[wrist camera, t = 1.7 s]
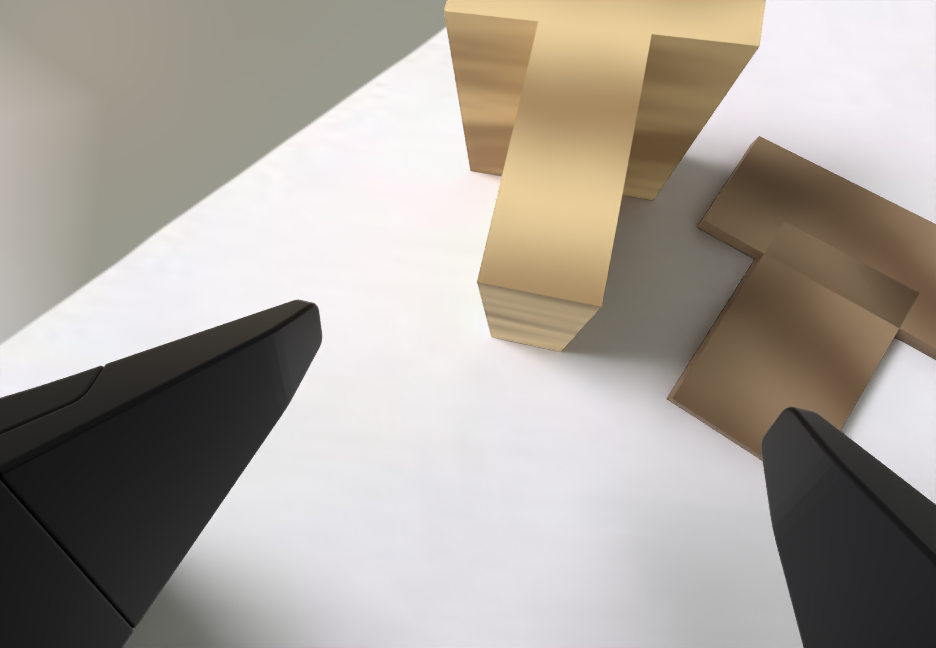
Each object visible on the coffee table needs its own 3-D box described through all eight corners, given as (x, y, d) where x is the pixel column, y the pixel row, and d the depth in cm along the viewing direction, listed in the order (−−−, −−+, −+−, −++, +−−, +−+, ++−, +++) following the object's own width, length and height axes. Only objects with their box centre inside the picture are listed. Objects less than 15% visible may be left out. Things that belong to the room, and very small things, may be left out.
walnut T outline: (865, 527, 19) (880, 532, 18) (608, 361, 22) (612, 359, 21) (1005, 274, 21) (1025, 269, 20) (750, 145, 23) (758, 136, 22)
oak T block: (625, 365, 21) (721, 330, 12) (432, 324, 23) (374, 261, 13) (661, 150, 23) (770, -35, 14) (482, 123, 25) (464, -62, 15)
